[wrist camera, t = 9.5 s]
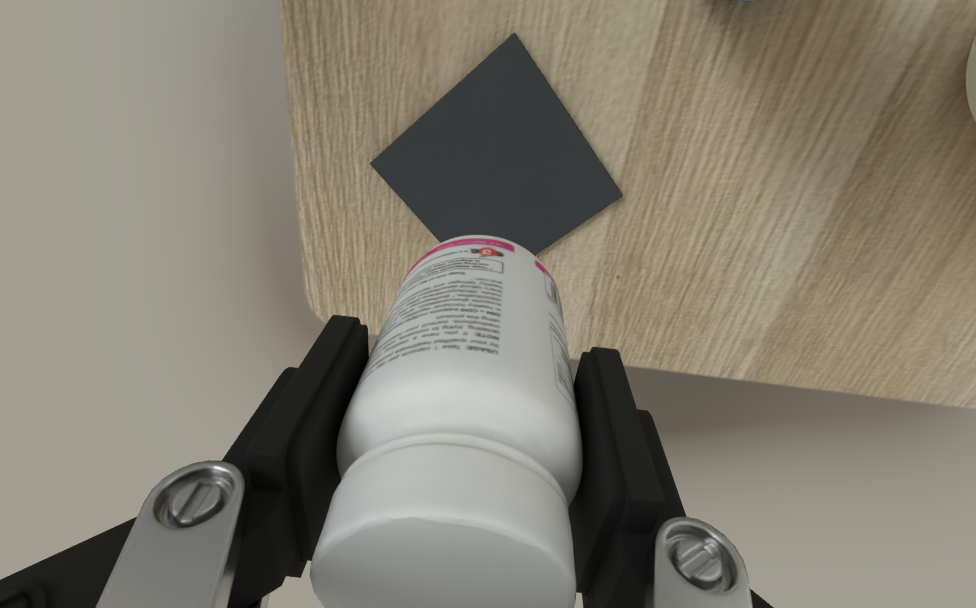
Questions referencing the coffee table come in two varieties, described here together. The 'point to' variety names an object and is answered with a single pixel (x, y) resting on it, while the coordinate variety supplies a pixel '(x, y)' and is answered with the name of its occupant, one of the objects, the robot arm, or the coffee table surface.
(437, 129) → the mat
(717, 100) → the coffee table surface
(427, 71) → the coffee table surface
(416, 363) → the pill bottle
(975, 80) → the ornament
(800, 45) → the coffee table surface
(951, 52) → the coffee table surface
